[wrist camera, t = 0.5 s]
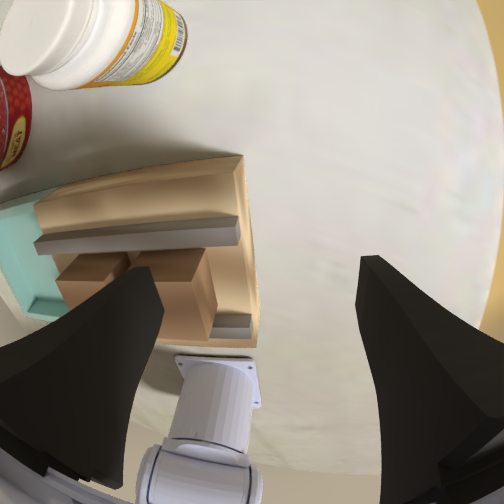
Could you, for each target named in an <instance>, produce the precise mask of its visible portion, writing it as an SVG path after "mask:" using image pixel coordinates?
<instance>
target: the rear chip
mask: <svg viewBox="0 0 504 504" xmlns="http://www.w3.org/2000/svg"><path fill="white" fill-rule="evenodd" d="M130 265H131V262H130V259H129V256H128V253H127V252H117V253H97V254H79V255H78V256H77V257H76V258H75V259H74V260H73V262H72V263H71V264H70V265H69V266H68V267H67V268H66V269H65V270H64V271H63V272H62V273H61V274H60V275H59V276H58V278H57V279H56V280H55V282H56V284H57V286H58V288H59V290H60V292H61V294H62V296H63V298H64V300H65V302H66V304H67V306H68V308H69V310H70V311H71V310H72V309H74V308H75V307H76V306H78V305H79V304H81V303H82V302H84V301H85V300H87V299H88V298H89V297H91V296H92V295H94V294H95V293H96V292H98V291H99V290H100V289H102V288H103V287H105V286H106V285H107V284H109V283H110V282H112V281H113V280H114V279H116V278H117V277H119V276H120V275H122V274H123V273H125V272H126V271H127V269H128V268H129V267H130Z"/></svg>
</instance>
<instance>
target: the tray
mask: <svg viewBox="0 0 504 504" xmlns="http://www.w3.org/2000/svg"><path fill="white" fill-rule="evenodd" d="M62 186H64V185H62ZM62 186H58V187H54V188H51V189H47V190H43V191H40V192H36V193H33V194H29V195H26V196H23V197H19V198H16V199H13V200H10V201H7V202H4V203H1V204H0V269H1V271H2V273H3V275H4V277H5V279H6V281H7V283H8V285H9V287H10V289H11V291H12V293H13V294H14V296H15V298H16V300H17V302H18V303H19V305H20V307H21V309H22V310H23V312H24V314H25V315H26V317H28V318H34V319H39V320H45V321H51V322H53V321H55V320H57V319H58V318H60V317H62V316H63V315H65V314H66V313H68V312H69V311H70V310H69V308H68V306H67V304H66V302H65V300H64V298H63V296H62V294H61V292H60V290H59V288H58V286H57V284H56V282H55V280H56V279H57V278H58V276H59V275H60V274H59V272H58V269H57V267H56V265H55V262H54V260H53V258H52V255H39V256H38V254H37V251H36V249H35V246H34V244H33V242H35V241H36V240H37V239H38V238H39V237H40V236H42V235H43V233H42V230H41V227H40V224H39V222H38V219H37V216H36V213H35V210H34V207H33V205H34V204H35V203H37V202H38V201H40V200H41V199H43V198H44V197H46V196H48V195H49V194H51V193H52V192H54V191H56V190H57V189H59V188H61V187H62Z"/></svg>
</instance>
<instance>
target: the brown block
mask: <svg viewBox="0 0 504 504" xmlns="http://www.w3.org/2000/svg"><path fill="white" fill-rule="evenodd" d="M143 266H149V267H150V270H151V273H152V276H153V279H154V282H155V285H156V288H157V290H158V293H159V296H160V299H161V301H162V304H163V307H164V309H165V311H164V316H163V320H162V324H161V327H160V331H159V334H158V337H157V338H159V339H173V340H191V341H208V340H209V336H210V333H211V329H212V325H213V321H214V318H215V314H216V311H217V307H218V303H217V299H216V294H215V289H214V285H213V280H212V276H211V271H210V266H209V261H208V256H207V251H206V248H204V249H182V250H160V251H141V252H140V253H139V255H138V256H137V257H136V259H135V260H134V261H133V263H132V264H131V265H130V267H129V268H128V269H127V271H128V270H130V269H132V268H134V267H143Z"/></svg>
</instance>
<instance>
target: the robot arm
mask: <svg viewBox="0 0 504 504" xmlns="http://www.w3.org/2000/svg"><path fill="white" fill-rule="evenodd" d="M355 307H356V313H357V319H358V325H359V330H360V334H361V337H362V341H363V344H364V348H365V351H366V355H367V359H368V362H369V366H370V369H371V373H372V377H373V381H374V384H375V389H376V394H377V401H378V410H379V419H380V432H381V455H382V474H381V495H380V504H504V343H501V342H500V341H497V340H495V339H494V338H492V337H490V336H488V335H487V334H484V333H483V332H481V331H479V330H477V329H476V328H474V327H473V326H471V325H469V324H468V323H466V322H465V321H463V320H462V319H460V318H458V317H457V316H455V315H454V314H452V313H451V312H449V311H448V310H447V309H445V308H444V307H442V306H441V305H440V304H438V303H437V302H436V301H435V300H433V299H432V298H431V297H429V296H428V295H427V294H425V293H424V292H423V291H422V290H420V289H419V288H418V287H417V286H415V285H414V284H413V283H412V282H411V281H409V280H408V279H407V278H406V277H405V276H403V275H402V274H401V273H400V272H399V271H398V270H396V269H395V268H394V267H393V266H392V265H390V264H389V263H388V262H387V261H385V260H384V259H383V258H382V257H380V256H379V255H373V256H361V260H360V270H359V279H358V287H357V295H356V302H355ZM164 311H165V309H164V307H163V304H162V301H161V299H160V296H159V293H158V290H157V288H156V285H155V282H154V279H153V276H152V273H151V270H150V267H149V266H143V267H134V268H132V269H130V270H128V271H126V272H125V273H123V274H122V275H120V276H119V277H117V278H116V279H114V280H113V281H112V282H110V283H109V284H107V285H106V286H105V287H103V288H102V289H100V290H99V291H98V292H96V293H95V294H94V295H92V296H91V297H89V298H88V299H87V300H85V301H84V302H82V303H81V304H79V305H78V306H76V307H75V308H74V309H72V310H71V311H69V312H68V313H66V314H65V315H63V316H62V317H60V318H58V319H57V320H55V321H53V322H52V323H50V324H48V325H47V326H45V327H43V328H41V329H39V330H37V331H35V332H33V333H31V334H30V335H28V336H26V337H24V338H22V339H20V340H17V341H15V342H13V343H10V344H8V345H5V346H3V347H0V504H133V503H130V502H127V501H124V500H121V499H118V498H116V497H113V496H110V495H108V494H105V493H102V492H100V491H98V490H95V489H93V488H91V487H88V486H86V485H84V484H82V483H80V482H78V480H79V478H80V479H82V480H84V481H87V482H90V480H92V481H94V482H97V483H99V484H101V485H104V486H106V487H109V488H112V489H119V488H121V487H122V486H123V462H124V450H125V442H126V434H127V429H128V423H129V418H130V413H131V409H132V405H133V401H134V397H135V393H136V390H137V387H138V384H139V381H140V379H141V376H142V374H143V371H144V369H145V366H146V364H147V361H148V359H149V356H150V354H151V352H152V349H153V347H154V344H155V342H156V339H157V337H158V334H159V331H160V327H161V324H162V320H163V316H164ZM174 360H175V362H176V364H177V367H178V369H179V371H180V373H181V375H182V377H183V379H184V383H183V386H182V390H181V393H180V396H179V400H178V403H177V407H176V410H175V414H174V417H173V421H172V424H171V428H170V432H169V435H168V438H166V437H165V438H164V440H163V444H162V446H161V445H158V444H155V445H153V446H152V447H150V448H148V449H147V450H146V452H145V454H144V457H143V459H142V462H141V464H140V468H139V472H138V476H137V482H136V502H135V504H260V503H261V498H262V488H263V481H262V474H261V472H260V471H259V470H258V468H257V466H256V465H254V464H250V455H246V454H247V450H248V445H249V437H250V428H251V419H252V410H253V408H261V406H262V403H261V397H260V391H259V384H258V378H257V372H256V365H255V361H254V360H253V359H244V358H212V357H194V356H180V355H178V356H176V357H175V359H174Z"/></svg>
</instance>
